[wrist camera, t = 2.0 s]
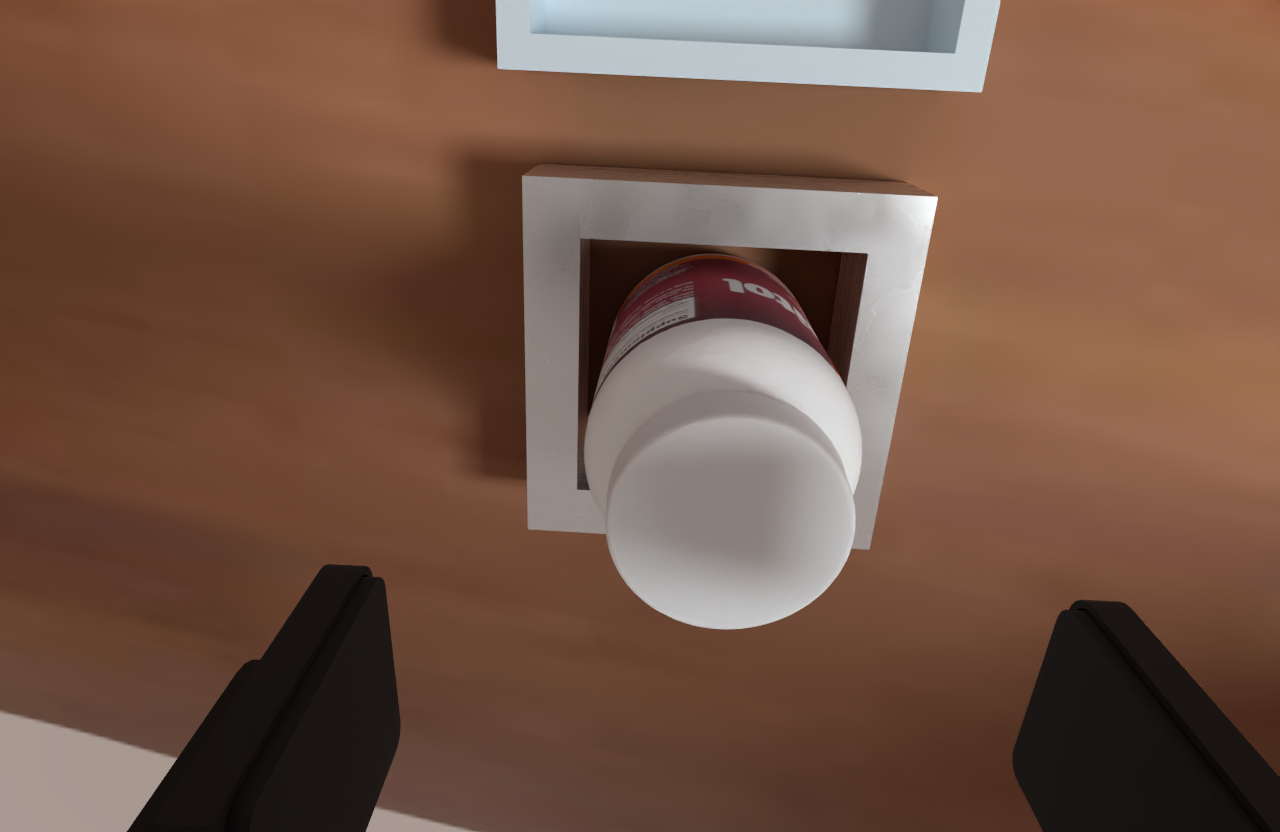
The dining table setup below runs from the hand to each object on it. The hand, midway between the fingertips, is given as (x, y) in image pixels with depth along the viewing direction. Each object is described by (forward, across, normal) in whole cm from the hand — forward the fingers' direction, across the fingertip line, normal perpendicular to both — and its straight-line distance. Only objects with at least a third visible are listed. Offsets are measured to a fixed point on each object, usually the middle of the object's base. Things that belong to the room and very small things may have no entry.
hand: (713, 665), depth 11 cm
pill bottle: (+15, -1, 0) cm, 15 cm away
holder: (+15, -1, 0) cm, 15 cm away
